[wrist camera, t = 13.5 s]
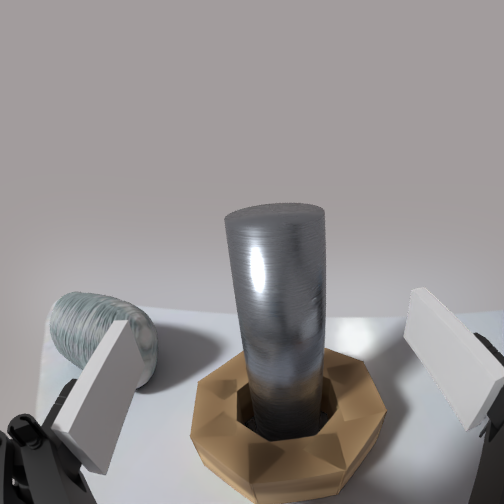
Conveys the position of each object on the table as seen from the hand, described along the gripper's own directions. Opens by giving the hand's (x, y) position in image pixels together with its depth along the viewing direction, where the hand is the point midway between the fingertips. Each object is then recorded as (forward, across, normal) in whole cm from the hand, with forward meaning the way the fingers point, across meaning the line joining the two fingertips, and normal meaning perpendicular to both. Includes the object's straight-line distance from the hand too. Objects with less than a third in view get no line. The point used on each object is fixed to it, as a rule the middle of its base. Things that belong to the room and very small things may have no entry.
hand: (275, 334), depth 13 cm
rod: (+2, 0, -11) cm, 11 cm away
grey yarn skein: (+11, -16, -12) cm, 23 cm away
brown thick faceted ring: (+2, 0, -11) cm, 11 cm away
